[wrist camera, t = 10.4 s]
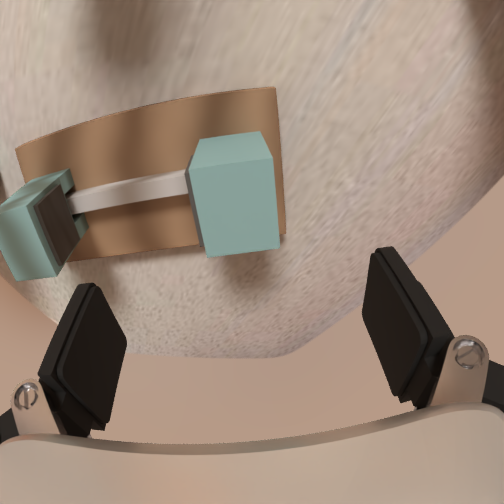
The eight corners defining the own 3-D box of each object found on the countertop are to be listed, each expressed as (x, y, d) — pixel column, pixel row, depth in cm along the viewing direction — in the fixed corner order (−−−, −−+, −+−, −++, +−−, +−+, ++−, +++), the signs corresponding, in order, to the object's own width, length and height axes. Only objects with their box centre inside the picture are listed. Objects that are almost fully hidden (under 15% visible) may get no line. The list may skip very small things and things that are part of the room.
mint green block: (260, 131, 22) (272, 158, 16) (267, 200, 25) (279, 248, 19) (194, 140, 22) (181, 170, 16) (206, 208, 25) (200, 258, 19)
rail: (272, 86, 21) (295, 97, 14) (283, 225, 28) (302, 286, 21) (23, 143, 21) (-35, 180, 14) (63, 254, 28) (27, 312, 21)
